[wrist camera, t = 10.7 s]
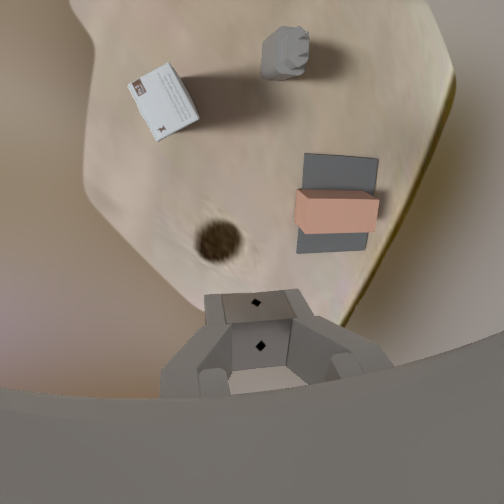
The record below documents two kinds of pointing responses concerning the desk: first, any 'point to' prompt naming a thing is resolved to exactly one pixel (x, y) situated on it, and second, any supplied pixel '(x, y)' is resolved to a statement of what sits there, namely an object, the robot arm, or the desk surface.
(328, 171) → the mat
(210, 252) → the desk surface
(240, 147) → the desk surface
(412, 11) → the desk surface
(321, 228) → the block
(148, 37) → the desk surface
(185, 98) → the skincare box
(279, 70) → the power adapter
